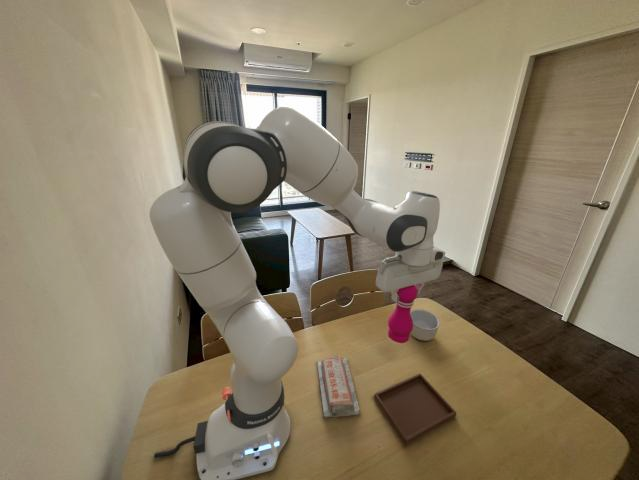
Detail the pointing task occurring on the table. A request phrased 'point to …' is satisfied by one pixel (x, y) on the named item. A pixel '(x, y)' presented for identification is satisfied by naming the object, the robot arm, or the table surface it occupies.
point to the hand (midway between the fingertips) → (405, 296)
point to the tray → (414, 408)
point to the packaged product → (337, 388)
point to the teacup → (424, 324)
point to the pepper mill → (402, 315)
